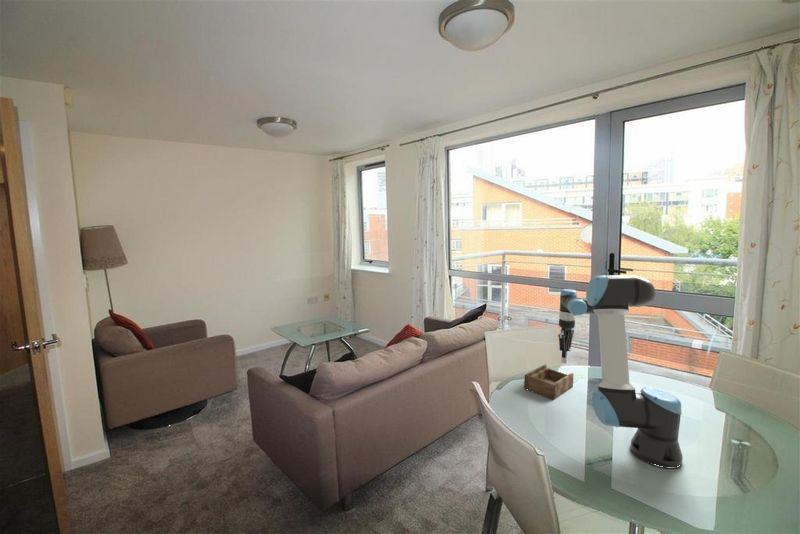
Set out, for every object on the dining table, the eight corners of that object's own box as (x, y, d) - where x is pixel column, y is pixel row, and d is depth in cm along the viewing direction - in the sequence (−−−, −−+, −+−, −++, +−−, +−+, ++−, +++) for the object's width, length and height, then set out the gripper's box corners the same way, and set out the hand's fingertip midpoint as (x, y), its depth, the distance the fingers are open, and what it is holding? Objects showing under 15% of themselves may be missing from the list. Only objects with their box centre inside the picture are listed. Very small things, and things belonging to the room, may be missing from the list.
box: (553, 400, 167) (554, 385, 166) (524, 388, 179) (524, 374, 178) (572, 387, 180) (573, 373, 179) (544, 377, 192) (544, 364, 191)
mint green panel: (570, 386, 182) (570, 379, 181) (546, 378, 191) (546, 372, 190) (584, 377, 193) (584, 370, 192) (560, 369, 202) (561, 363, 202)
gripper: (568, 323, 178) (565, 368, 182) (580, 318, 187) (577, 361, 190) (553, 320, 184) (551, 364, 187) (565, 315, 193) (563, 357, 196)
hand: (564, 362), depth 189 cm, fingers closed
